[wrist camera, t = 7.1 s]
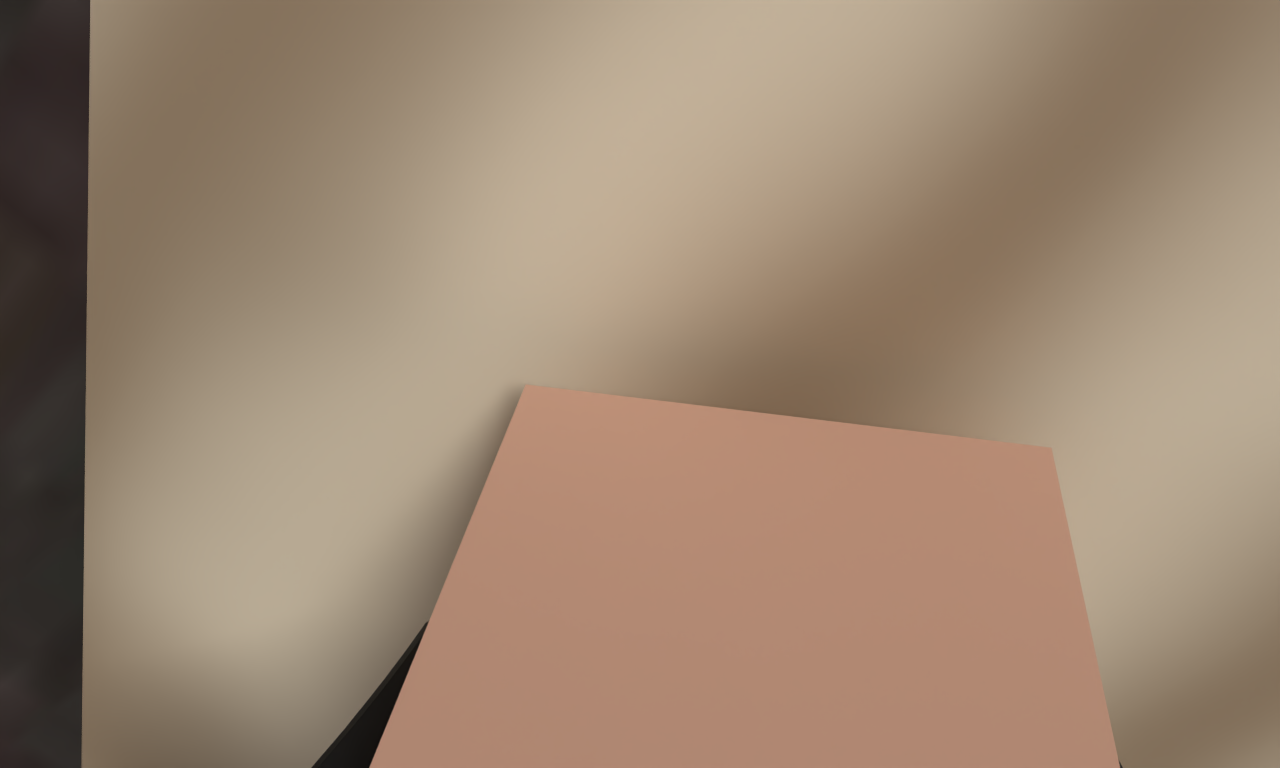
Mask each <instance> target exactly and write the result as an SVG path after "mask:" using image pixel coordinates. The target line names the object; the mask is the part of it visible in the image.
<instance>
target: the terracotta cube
mask: <svg viewBox="0 0 1280 768" xmlns="http://www.w3.org/2000/svg"><path fill="white" fill-rule="evenodd" d="M369 768H1120V765H1119V760H1118V755H1117V751H1116V746H1115V741H1114V737H1113V732H1112V727H1111V723H1110V718H1109V713H1108V709H1107V704H1106V699H1105V695H1104V690H1103V685H1102V681H1101V676H1100V671H1099V667H1098V662H1097V657H1096V653H1095V648H1094V643H1093V639H1092V634H1091V629H1090V625H1089V620H1088V615H1087V611H1086V606H1085V602H1084V597H1083V592H1082V588H1081V583H1080V578H1079V574H1078V569H1077V564H1076V560H1075V555H1074V550H1073V546H1072V541H1071V536H1070V532H1069V527H1068V522H1067V518H1066V513H1065V508H1064V504H1063V499H1062V494H1061V490H1060V485H1059V480H1058V476H1057V471H1056V466H1055V462H1054V457H1053V452H1052V448H1050V447H1042V446H1033V445H1025V444H1017V443H1008V442H1000V441H992V440H983V439H975V438H967V437H959V436H950V435H942V434H934V433H925V432H917V431H909V430H900V429H892V428H884V427H875V426H867V425H859V424H851V423H842V422H834V421H826V420H817V419H809V418H801V417H792V416H784V415H776V414H767V413H759V412H751V411H743V410H734V409H726V408H718V407H709V406H701V405H693V404H684V403H676V402H668V401H659V400H651V399H643V398H634V397H626V396H618V395H610V394H601V393H593V392H585V391H576V390H568V389H560V388H551V387H543V386H535V385H525V387H524V390H523V392H522V394H521V397H520V399H519V402H518V404H517V407H516V409H515V412H514V414H513V417H512V419H511V421H510V424H509V426H508V429H507V431H506V434H505V436H504V439H503V441H502V444H501V446H500V448H499V451H498V453H497V456H496V458H495V461H494V463H493V466H492V468H491V471H490V473H489V475H488V478H487V480H486V483H485V485H484V488H483V490H482V493H481V495H480V498H479V500H478V502H477V505H476V507H475V510H474V512H473V515H472V517H471V520H470V522H469V524H468V527H467V529H466V532H465V534H464V537H463V539H462V542H461V544H460V547H459V549H458V551H457V554H456V556H455V559H454V561H453V564H452V566H451V569H450V571H449V574H448V576H447V578H446V581H445V583H444V586H443V588H442V591H441V593H440V596H439V598H438V601H437V603H436V605H435V608H434V610H433V613H432V615H431V618H430V620H429V623H428V625H427V628H426V630H425V632H424V635H423V637H422V640H421V642H420V645H419V647H418V650H417V652H416V655H415V657H414V659H413V662H412V664H411V667H410V669H409V672H408V674H407V677H406V679H405V682H404V684H403V686H402V689H401V691H400V694H399V696H398V699H397V701H396V704H395V706H394V709H393V711H392V713H391V716H390V718H389V721H388V723H387V726H386V728H385V731H384V733H383V735H382V738H381V740H380V743H379V745H378V748H377V750H376V753H375V755H374V758H373V760H372V762H371V765H370V767H369Z"/></svg>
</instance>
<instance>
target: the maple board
mask: <svg viewBox="0 0 1280 768" xmlns="http://www.w3.org/2000/svg"><path fill="white" fill-rule="evenodd" d="M525 385H535V386H543V387H551V388H560V389H568V390H576V391H585V392H593V393H601V394H610V395H618V396H626V397H634V398H643V399H651V400H659V401H668V402H676V403H684V404H693V405H701V406H709V407H718V408H726V409H734V410H743V411H751V412H759V413H767V414H776V415H784V416H792V417H801V418H809V419H817V420H826V421H834V422H842V423H851V424H859V425H867V426H875V427H884V428H892V429H900V430H909V431H917V432H925V433H934V434H942V435H950V436H959V437H967V438H975V439H983V440H992V441H1000V442H1008V443H1017V444H1025V445H1033V446H1042V447H1050V448H1052V452H1053V457H1054V462H1055V466H1056V471H1057V476H1058V480H1059V485H1060V490H1061V494H1062V499H1063V504H1064V508H1065V513H1066V518H1067V522H1068V527H1069V532H1070V536H1071V541H1072V546H1073V550H1074V555H1075V560H1076V564H1077V569H1078V574H1079V578H1080V583H1081V588H1082V592H1083V597H1084V602H1085V606H1086V611H1087V615H1088V620H1089V625H1090V629H1091V634H1092V639H1093V643H1094V648H1095V653H1096V657H1097V662H1098V667H1099V671H1100V676H1101V681H1102V685H1103V690H1104V695H1105V699H1106V704H1107V709H1108V713H1109V718H1110V723H1111V727H1112V732H1113V737H1114V741H1115V746H1116V751H1117V755H1118V759H1119V761H1120V763H1121V765H1122V767H1123V768H1280V0H91V2H90V89H89V176H88V262H87V349H86V436H85V522H84V609H83V696H82V768H311V767H312V766H313V765H314V764H315V763H316V761H317V760H318V759H319V758H320V757H321V756H322V755H323V753H324V752H325V751H326V750H327V749H328V748H329V746H330V745H331V744H332V743H333V742H334V741H335V739H336V738H337V737H338V736H339V735H340V734H341V732H342V731H343V730H344V729H345V728H346V726H347V725H348V724H349V723H350V721H351V720H352V719H353V718H354V716H355V715H356V714H357V713H358V711H359V710H360V709H361V708H362V707H363V705H364V704H365V703H366V702H367V700H368V699H369V698H370V697H371V695H372V694H373V693H374V691H375V690H376V689H377V688H378V686H379V685H380V684H381V683H382V681H383V680H384V679H385V677H386V676H387V675H388V673H389V672H390V671H391V670H392V668H393V667H394V666H395V664H396V663H397V662H398V660H399V659H400V657H401V656H402V655H403V653H404V652H405V651H406V649H407V648H408V647H409V645H410V644H411V643H412V641H413V640H414V638H415V637H416V636H417V634H418V633H419V631H420V630H421V629H422V627H423V626H424V624H425V623H426V622H428V621H429V620H430V618H431V615H432V613H433V610H434V608H435V605H436V603H437V601H438V598H439V596H440V593H441V591H442V588H443V586H444V583H445V581H446V578H447V576H448V574H449V571H450V569H451V566H452V564H453V561H454V559H455V556H456V554H457V551H458V549H459V547H460V544H461V542H462V539H463V537H464V534H465V532H466V529H467V527H468V524H469V522H470V520H471V517H472V515H473V512H474V510H475V507H476V505H477V502H478V500H479V498H480V495H481V493H482V490H483V488H484V485H485V483H486V480H487V478H488V475H489V473H490V471H491V468H492V466H493V463H494V461H495V458H496V456H497V453H498V451H499V448H500V446H501V444H502V441H503V439H504V436H505V434H506V431H507V429H508V426H509V424H510V421H511V419H512V417H513V414H514V412H515V409H516V407H517V404H518V402H519V399H520V397H521V394H522V392H523V390H524V387H525Z"/></svg>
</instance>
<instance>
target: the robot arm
mask: <svg viewBox="0 0 1280 768" xmlns="http://www.w3.org/2000/svg"><path fill="white" fill-rule="evenodd" d="M428 623H429V621H428V622H426V623H425V624H424V626H423V627H422V629H421V630H420V631H419V633H418V634H417V636H416V637H415V638H414V640H413V641H412V643H411V644H410V645H409V647H408V648H407V649H406V651H405V652H404V653H403V655H402V656H401V657H400V659H399V660H398V662H397V663H396V664H395V666H394V667H393V668H392V670H391V671H390V672H389V673H388V675H387V676H386V677H385V679H384V680H383V681H382V683H381V684H380V685H379V686H378V688H377V689H376V690H375V691H374V693H373V694H372V695H371V697H370V698H369V699H368V700H367V702H366V703H365V704H364V705H363V707H362V708H361V709H360V710H359V711H358V713H357V714H356V715H355V716H354V718H353V719H352V720H351V721H350V723H349V724H348V725H347V726H346V728H345V729H344V730H343V731H342V732H341V734H340V735H339V736H338V737H337V738H336V739H335V741H334V742H333V743H332V744H331V745H330V746H329V748H328V749H327V750H326V751H325V752H324V753H323V755H322V756H321V757H320V758H319V759H318V760H317V761H316V763H315V764H314V765H313V766H312V767H311V768H369V767H370V765H371V762H372V760H373V758H374V755H375V753H376V750H377V748H378V745H379V743H380V740H381V738H382V735H383V733H384V731H385V728H386V726H387V723H388V721H389V718H390V716H391V713H392V711H393V709H394V706H395V704H396V701H397V699H398V696H399V694H400V691H401V689H402V686H403V684H404V682H405V679H406V677H407V674H408V672H409V669H410V667H411V664H412V662H413V659H414V657H415V655H416V652H417V650H418V647H419V645H420V642H421V640H422V637H423V635H424V632H425V630H426V628H427V625H428ZM1118 760H1119V759H1118ZM1119 765H1120V768H1123V767H1122V765H1121V763H1120V761H1119Z"/></svg>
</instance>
